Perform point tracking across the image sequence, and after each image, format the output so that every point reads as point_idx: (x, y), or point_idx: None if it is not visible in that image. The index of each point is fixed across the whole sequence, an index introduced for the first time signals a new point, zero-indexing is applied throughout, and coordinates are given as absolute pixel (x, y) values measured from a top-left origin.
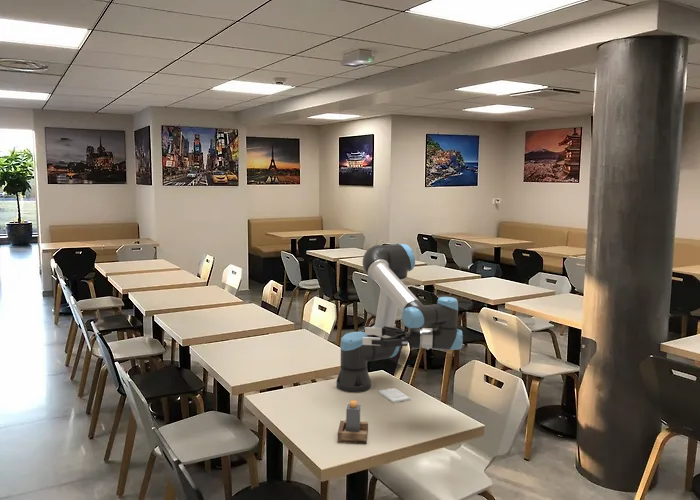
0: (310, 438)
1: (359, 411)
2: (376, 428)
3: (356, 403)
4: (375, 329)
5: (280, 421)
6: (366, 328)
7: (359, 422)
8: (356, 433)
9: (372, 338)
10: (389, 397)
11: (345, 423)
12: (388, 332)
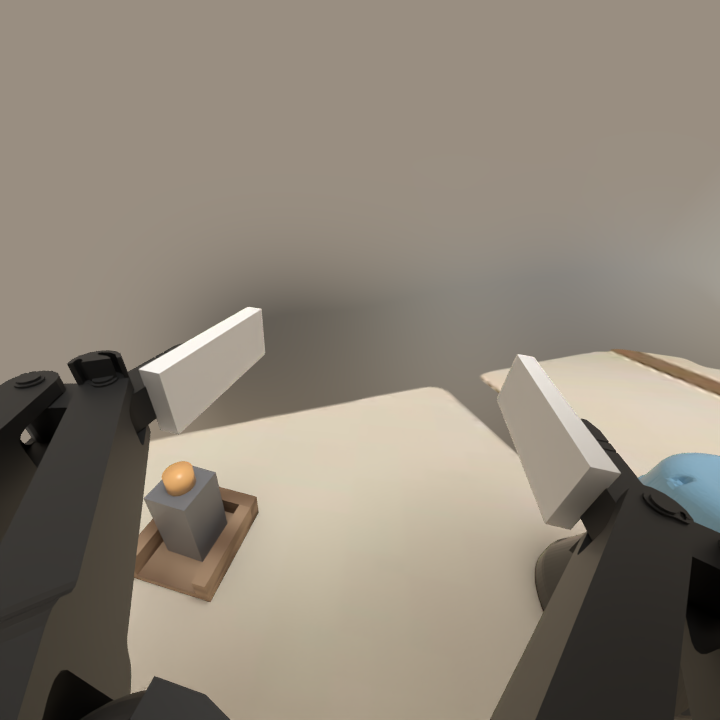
0: (243, 446)
1: (154, 506)
2: (216, 648)
3: (163, 482)
4: (546, 420)
5: (335, 412)
6: (519, 365)
7: (170, 532)
8: (147, 527)
9: (202, 338)
10: None
11: (237, 509)
12: (569, 596)
